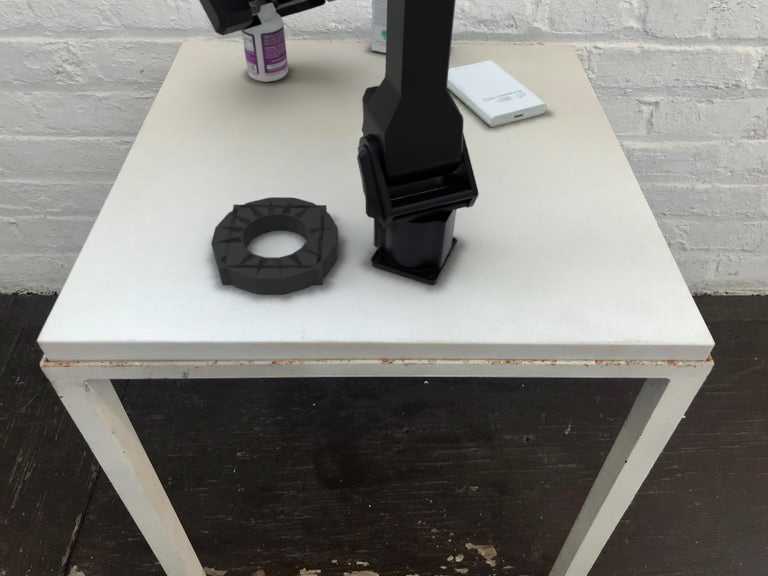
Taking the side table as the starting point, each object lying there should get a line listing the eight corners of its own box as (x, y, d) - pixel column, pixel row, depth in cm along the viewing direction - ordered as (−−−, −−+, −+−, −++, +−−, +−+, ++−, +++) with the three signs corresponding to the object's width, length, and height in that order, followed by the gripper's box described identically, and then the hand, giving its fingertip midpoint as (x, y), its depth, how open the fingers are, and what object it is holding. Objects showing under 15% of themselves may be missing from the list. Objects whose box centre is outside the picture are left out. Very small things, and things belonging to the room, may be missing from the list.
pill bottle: (290, 64, 85) (283, -9, 78) (286, 83, 81) (278, 8, 74) (251, 63, 85) (240, -10, 78) (245, 82, 81) (233, 7, 74)
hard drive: (490, 70, 85) (545, 113, 77) (438, 82, 82) (489, 128, 75) (492, 59, 84) (547, 101, 76) (439, 70, 81) (491, 116, 73)
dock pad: (339, 213, 63) (339, 197, 61) (335, 294, 55) (334, 278, 53) (226, 212, 63) (223, 196, 61) (206, 294, 55) (201, 278, 53)
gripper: (334, -138, 69) (286, -55, 82) (182, -110, 60) (156, -23, 73) (380, -42, 70) (325, 24, 84) (239, -1, 61) (203, 64, 75)
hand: (256, 20), depth 79 cm, fingers closed on pill bottle, 5 cm apart
